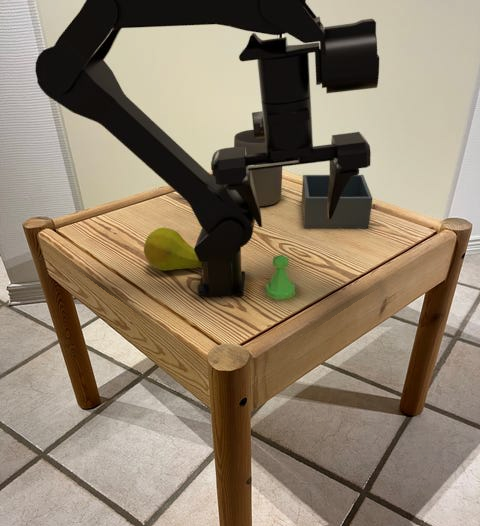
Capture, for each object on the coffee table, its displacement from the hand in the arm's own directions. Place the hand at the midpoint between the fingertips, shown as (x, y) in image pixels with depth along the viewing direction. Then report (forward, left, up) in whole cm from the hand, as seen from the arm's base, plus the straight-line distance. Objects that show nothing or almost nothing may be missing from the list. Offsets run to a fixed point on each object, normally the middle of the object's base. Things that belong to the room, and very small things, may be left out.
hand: (294, 221), depth 68 cm
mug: (+33, +8, -11) cm, 35 cm away
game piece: (-1, +2, -11) cm, 11 cm away
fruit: (+6, +22, -6) cm, 24 cm away
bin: (+26, -8, -11) cm, 29 cm away
